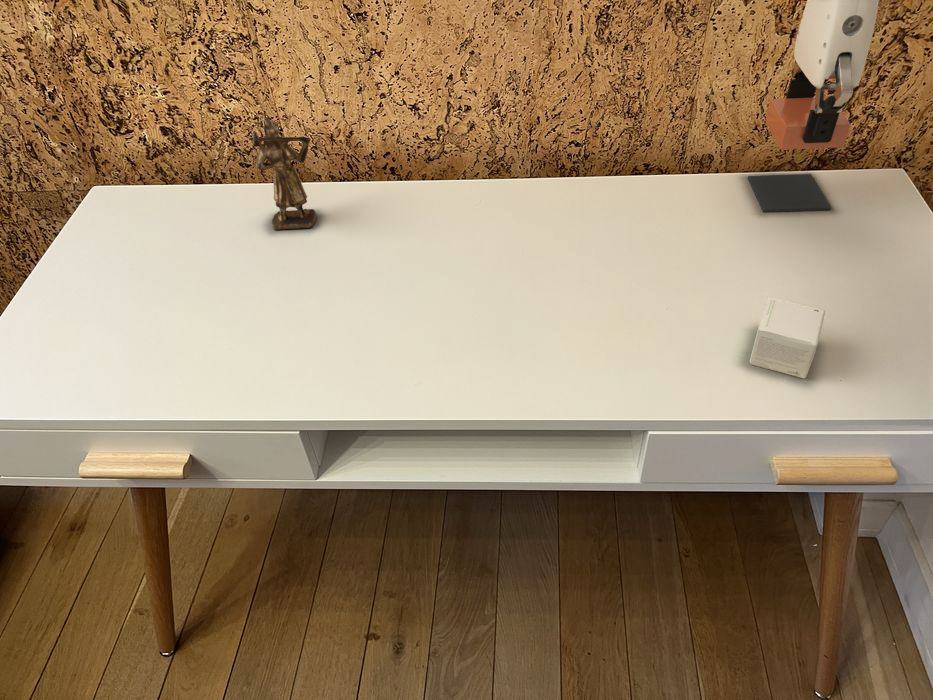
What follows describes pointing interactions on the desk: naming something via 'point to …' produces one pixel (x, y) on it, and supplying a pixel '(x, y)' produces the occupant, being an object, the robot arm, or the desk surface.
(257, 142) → the figurine
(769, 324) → the small box
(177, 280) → the desk surface
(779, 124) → the orange flat block
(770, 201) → the mat
